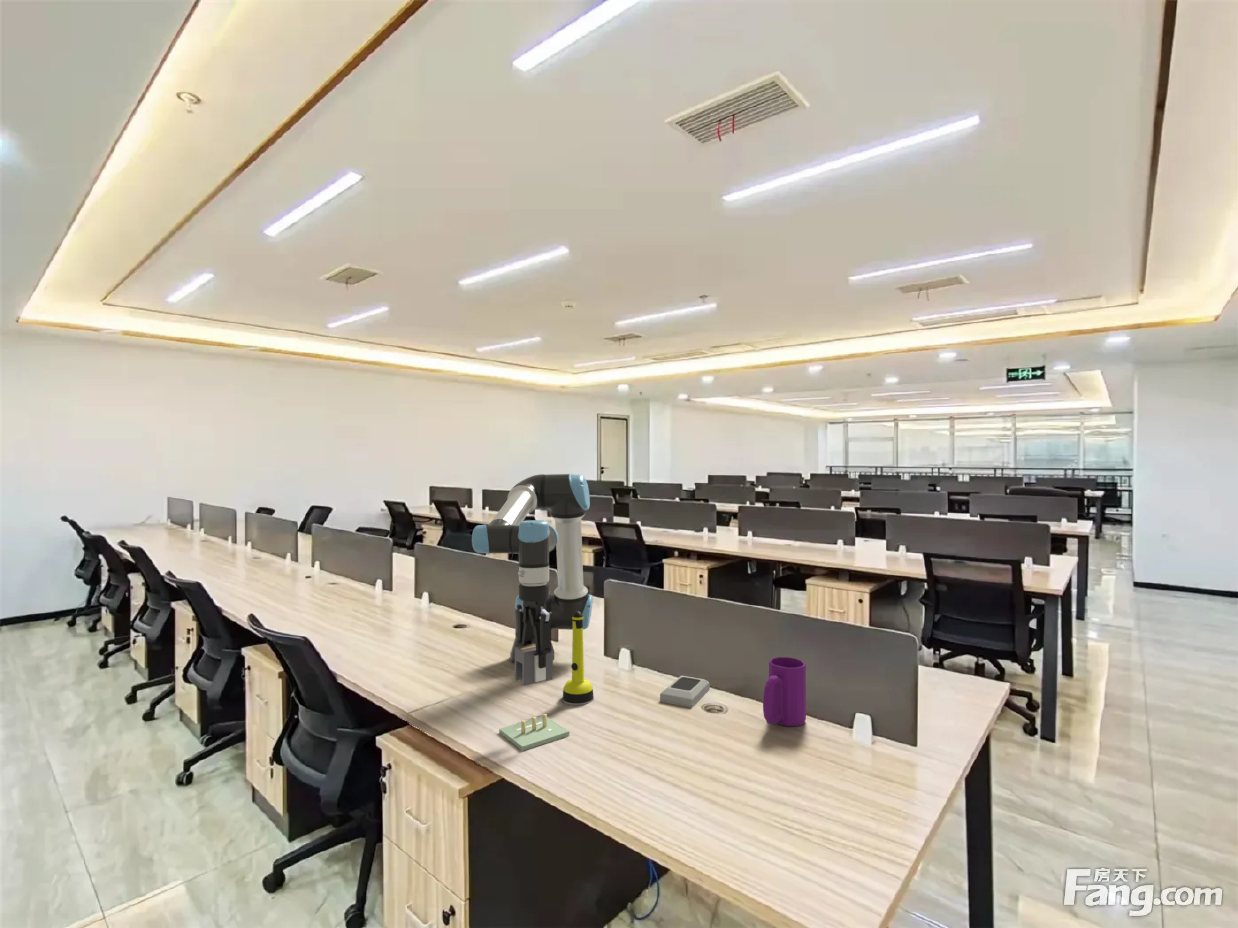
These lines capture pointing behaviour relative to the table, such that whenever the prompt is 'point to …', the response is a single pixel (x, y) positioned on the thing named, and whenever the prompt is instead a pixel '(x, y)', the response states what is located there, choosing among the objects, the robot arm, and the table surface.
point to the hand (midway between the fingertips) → (534, 677)
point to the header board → (533, 732)
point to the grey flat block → (685, 691)
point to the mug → (785, 692)
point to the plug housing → (530, 664)
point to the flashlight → (577, 669)
